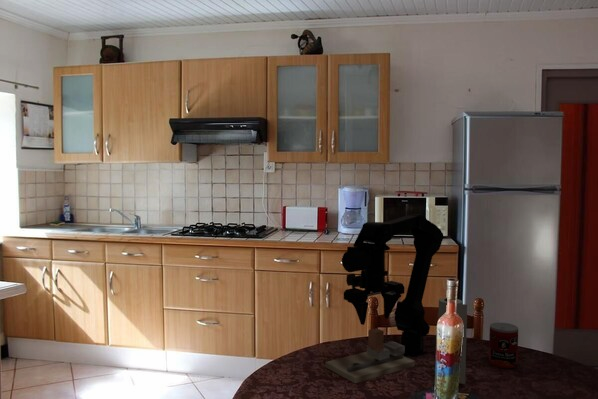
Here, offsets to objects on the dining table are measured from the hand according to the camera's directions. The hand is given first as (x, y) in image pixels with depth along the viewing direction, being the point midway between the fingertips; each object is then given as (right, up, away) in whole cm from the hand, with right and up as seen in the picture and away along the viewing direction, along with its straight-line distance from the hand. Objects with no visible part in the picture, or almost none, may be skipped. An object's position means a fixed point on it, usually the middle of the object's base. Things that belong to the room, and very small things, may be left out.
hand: (374, 321), depth 144 cm
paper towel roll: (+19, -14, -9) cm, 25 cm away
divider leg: (+1, -11, 0) cm, 11 cm away
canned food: (+38, -13, +3) cm, 40 cm away
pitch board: (-1, -13, 0) cm, 13 cm away
